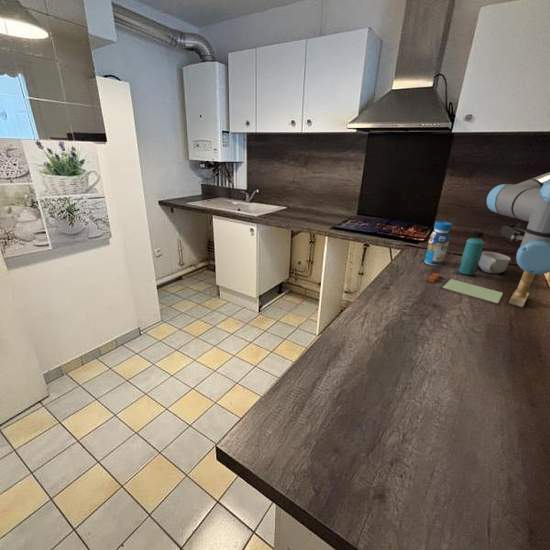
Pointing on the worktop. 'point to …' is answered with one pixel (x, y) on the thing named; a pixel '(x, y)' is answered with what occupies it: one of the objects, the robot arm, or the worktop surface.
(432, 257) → the beverage bottle
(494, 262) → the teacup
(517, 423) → the worktop surface
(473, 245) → the beverage bottle
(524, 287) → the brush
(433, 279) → the crumb
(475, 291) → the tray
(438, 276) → the crumb
